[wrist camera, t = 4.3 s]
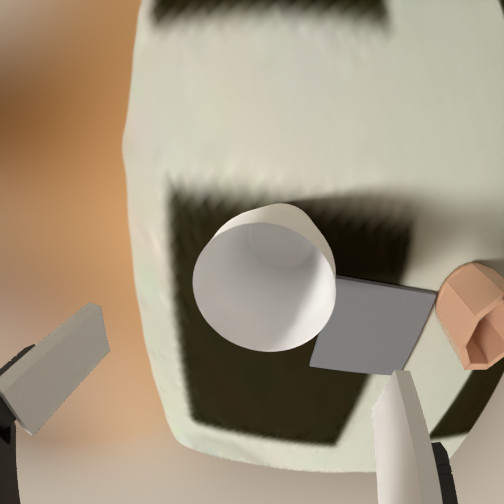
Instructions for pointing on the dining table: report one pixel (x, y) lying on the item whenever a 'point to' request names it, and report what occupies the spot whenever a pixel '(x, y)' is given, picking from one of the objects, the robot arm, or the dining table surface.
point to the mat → (371, 326)
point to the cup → (267, 279)
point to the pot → (473, 314)
